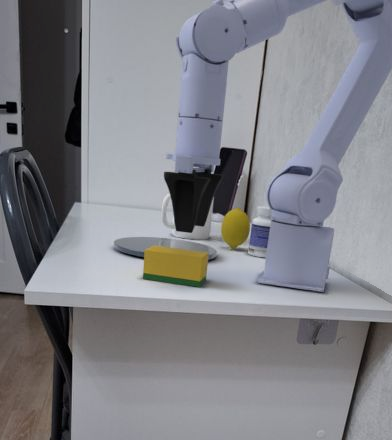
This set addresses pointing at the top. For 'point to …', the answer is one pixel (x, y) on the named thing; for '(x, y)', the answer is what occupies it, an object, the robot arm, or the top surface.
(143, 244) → the plate
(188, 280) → the sponge
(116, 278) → the top surface
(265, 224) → the pill bottle
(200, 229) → the cup
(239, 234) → the lemon
